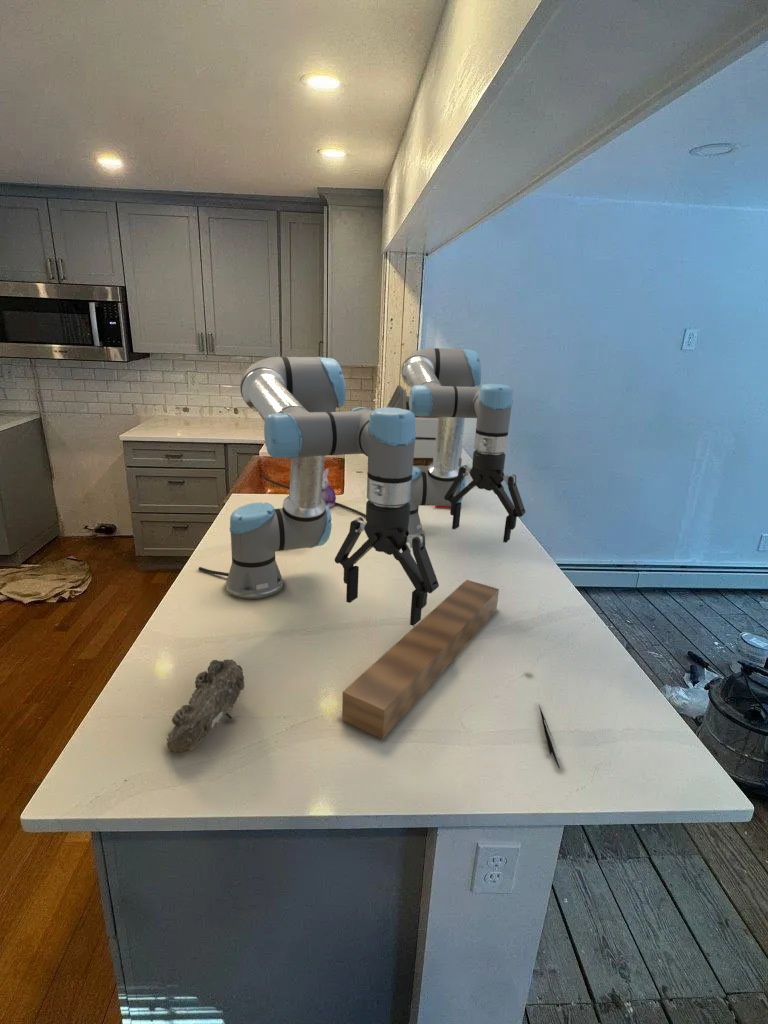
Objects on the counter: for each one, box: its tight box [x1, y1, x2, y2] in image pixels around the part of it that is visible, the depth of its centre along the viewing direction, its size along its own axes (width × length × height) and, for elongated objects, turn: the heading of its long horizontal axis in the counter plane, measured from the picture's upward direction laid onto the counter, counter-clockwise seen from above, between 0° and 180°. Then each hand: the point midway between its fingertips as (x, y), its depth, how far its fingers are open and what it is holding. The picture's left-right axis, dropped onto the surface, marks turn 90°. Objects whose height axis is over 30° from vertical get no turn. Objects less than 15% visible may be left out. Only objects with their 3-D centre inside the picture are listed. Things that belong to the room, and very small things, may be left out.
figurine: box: [321, 467, 337, 509], centre depth 222 cm, size 9×10×15 cm
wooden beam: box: [341, 579, 500, 740], centre depth 129 cm, size 58×9×7 cm, turn 149°
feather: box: [528, 673, 561, 769], centre depth 112 cm, size 2×28×2 cm
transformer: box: [386, 384, 465, 467], centre depth 268 cm, size 34×33×41 cm
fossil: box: [166, 658, 245, 754], centre depth 106 cm, size 22×10×15 cm
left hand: (382, 610), depth 104 cm, fingers open, 13 cm apart
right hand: (480, 534), depth 141 cm, fingers open, 13 cm apart
